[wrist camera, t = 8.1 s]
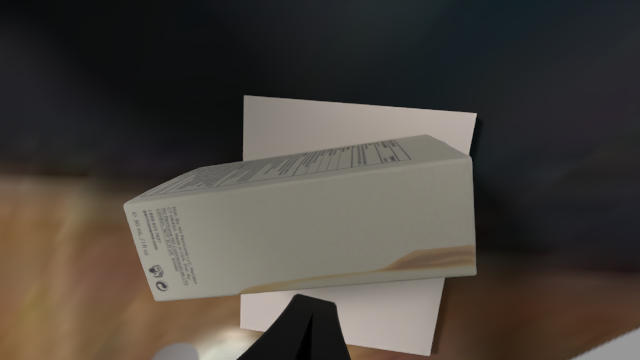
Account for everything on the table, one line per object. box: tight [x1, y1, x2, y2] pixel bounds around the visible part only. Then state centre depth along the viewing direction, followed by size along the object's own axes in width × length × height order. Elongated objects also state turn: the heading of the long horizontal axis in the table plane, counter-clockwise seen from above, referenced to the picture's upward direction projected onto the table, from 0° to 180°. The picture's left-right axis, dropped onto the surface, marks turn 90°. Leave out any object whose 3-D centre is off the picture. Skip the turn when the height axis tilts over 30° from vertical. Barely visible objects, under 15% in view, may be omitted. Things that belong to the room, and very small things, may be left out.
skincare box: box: [124, 134, 477, 301], centre depth 14 cm, size 6×4×12 cm
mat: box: [240, 95, 477, 356], centre depth 17 cm, size 12×14×1 cm
